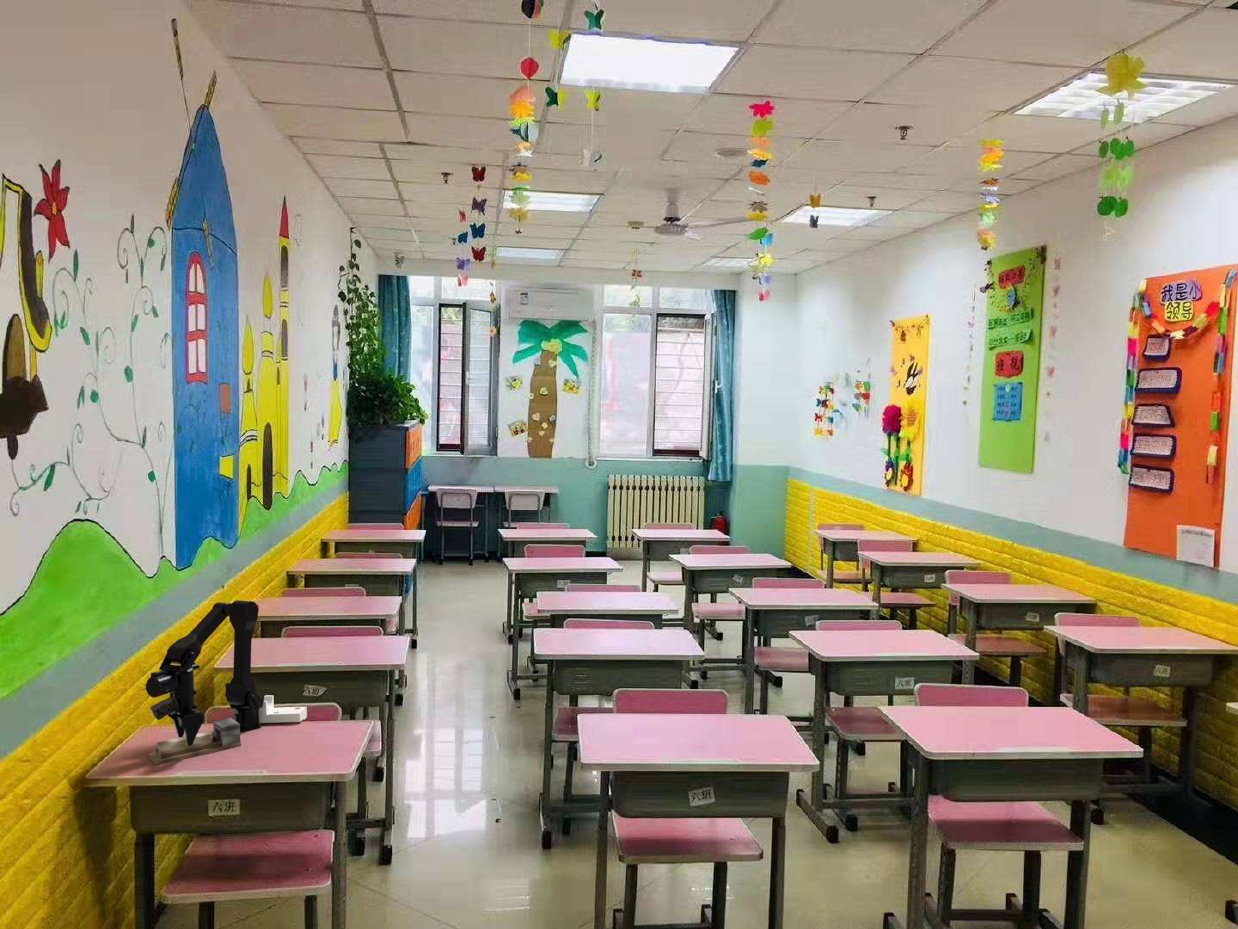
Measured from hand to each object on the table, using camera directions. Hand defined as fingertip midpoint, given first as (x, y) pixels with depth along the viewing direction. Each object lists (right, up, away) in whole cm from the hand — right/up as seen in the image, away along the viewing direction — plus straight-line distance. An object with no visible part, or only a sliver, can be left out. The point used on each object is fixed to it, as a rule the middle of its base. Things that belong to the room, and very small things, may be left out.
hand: (185, 741), depth 267 cm
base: (+2, -3, +2) cm, 4 cm away
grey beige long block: (0, -3, 0) cm, 3 cm away
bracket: (+18, -2, +28) cm, 34 cm away
